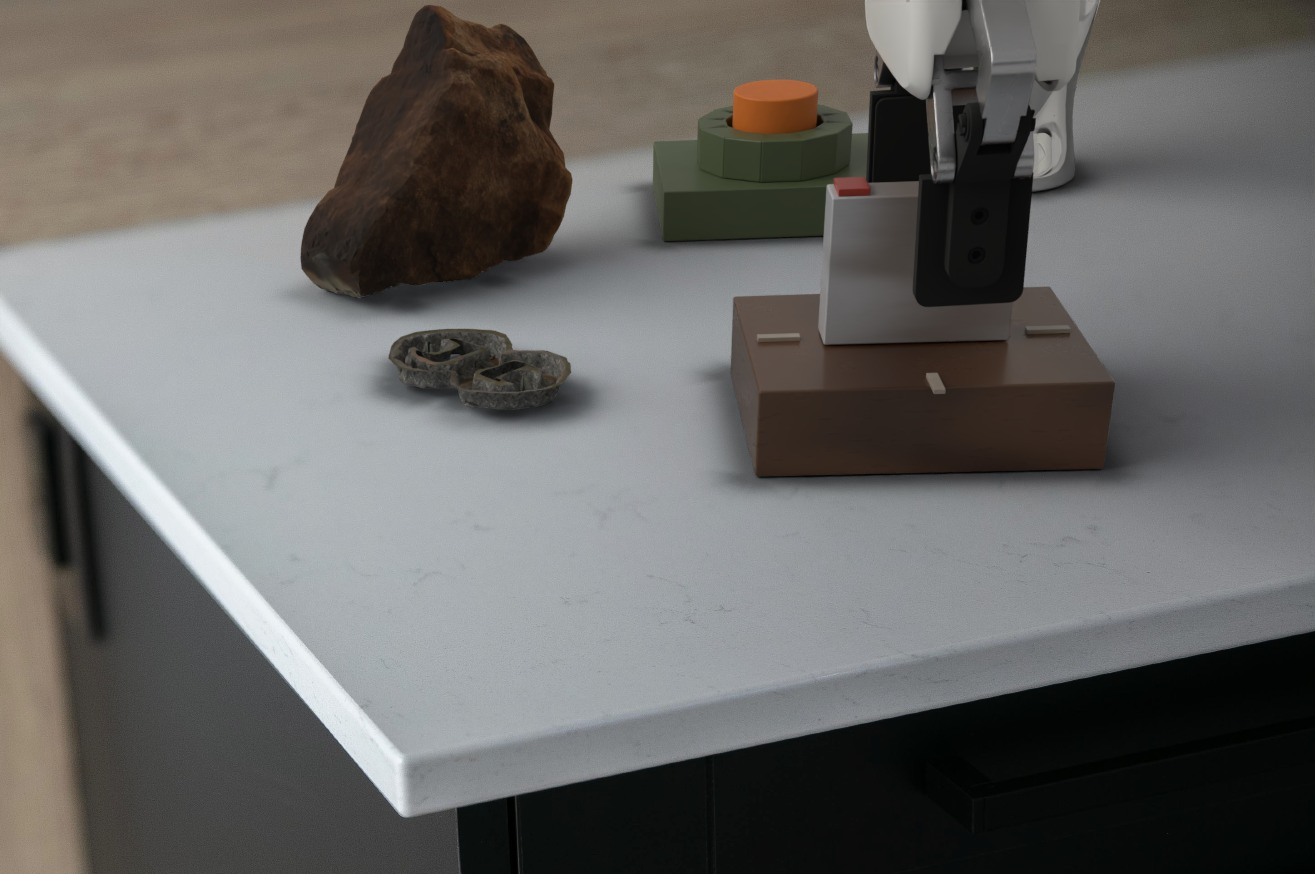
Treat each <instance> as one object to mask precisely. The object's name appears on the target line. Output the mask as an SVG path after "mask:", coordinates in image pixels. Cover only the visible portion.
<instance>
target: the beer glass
mask: <svg viewBox="0 0 1315 874" xmlns="http://www.w3.org/2000/svg"><path fill="white" fill-rule="evenodd" d="M1100 4H1101V0H1080V10H1079V28H1078V45H1077V60H1076V69H1075V73H1074V75H1073V77H1072V78H1071V80H1070V81H1069V82H1068V83H1067V84H1066V85H1065V86H1064V87H1063V88H1062V89H1060V90H1059V91H1050V92H1048V91H1046V90H1044V89H1043V88H1042V87H1041V86H1040V85H1039V84H1038V83H1037V82H1036V81H1035V80H1034V83H1033V87H1032V91H1031V96H1030V104H1031V110H1033V109H1034V110H1035V113H1034V116H1033V118H1036V125H1035V129H1034V131H1033V140H1034V168H1033V173H1034V174H1033V185H1032V193H1034V192H1042V191H1047V190H1052V189H1055V188H1059V187H1061V186H1063V185H1066V184H1067V183H1069V182H1070V181H1071V180H1073V178H1074V176H1075V173H1076V157H1075V142H1074V106H1075V105H1074V103H1075V96H1076V89H1077V88H1078V79H1079V76H1080V75H1079V74H1080V71H1081V67H1082V65H1083V60H1084V57H1085V53H1086V50H1087V46H1088V43H1089V40H1090V36H1091V33H1092V30H1093V27H1094V24H1095V20H1096V17H1097V14H1098V10H1099V6H1100ZM974 69H979V68H978V67H969V68H963V69H962V70H974Z"/></svg>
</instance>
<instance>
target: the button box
mask: <svg viewBox="0 0 1315 874" xmlns="http://www.w3.org/2000/svg"><path fill="white" fill-rule="evenodd" d="M732 126H733V105H730V106H725V107H720V108H717V109H716V108H715V109H713V110H712V111H710V112H708V113H706V114H705V115H703V116H701V117H699V118H698V119H697V134H696V135H697V138H696V139H687V140H686V139H685V140H684V139H683V140H659V141H658V140H656V141H653V144H652V145H653V147H652V149H653V150H652V153H653V154H652V190H653V195H654V196H653V197H654V201H655V206H656V210H657V216H658V222H659V227H660V231H661V237H662V238H661V239H662V241H663V242H682V241H683V242H685V241H712V240H715V241H716V240H740V239H741V240H742V239H768V238H796V237H797V238H798V237H824V222H825V206H826V189H827V185H828V184H834V178H847V177H865V178H866V170H867V147H868V132H859V133H857V132H856V133H853V126H854V123H853V121H852V119H851V118H850V115H849V114H848V113H847V112H846V111H844V110H840V109H837V108H833V107H831V106H827V105H824V104H818V106H817V123H816V128H814V129H810V130H805V131H800V132H795V133H779V134H761V133H751V132H743V131H740V130H737V129H734V128H732Z"/></svg>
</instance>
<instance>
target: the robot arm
mask: <svg viewBox="0 0 1315 874" xmlns="http://www.w3.org/2000/svg"><path fill="white" fill-rule="evenodd" d="M1079 10H1080V0H864V14H865V23H866V24H865V25H866V29H867V32H868V36H869V38H870V40H871V42H872V44H873V46H874V47H875V53H874V58H873V59H874V60H873V82H874V86H875V87H874V88H876V89H881V90H870V91H869V104H868V127H867V128H868V129H867V133H868V147H867V170H866V180H867V182H868V183H882V182H911V181H919V188H918V206H917V223H916V240H915V257H914V274H913V295H914V297H915V299H916V301H917V303H918V304H919V305H921V306H923V307H940V306H959V305H977V304H996V303H1010V302H1014V301H1016V300H1017V299H1019V298H1020V296H1021V295H1022V293H1023V288H1024V287H1025V275H1026V264H1027V251H1028V241H1029V230H1030V229H1029V228H1030V220H1031V219H1030V218H1031V208H1032V196H1033V192H1032V185H1033V174H1034V173H1033V168H1034V140H1033V131H1034V129H1035V125H1036V118H1033V116H1034V113H1035V110H1034V109H1033V110H1031V104H1030V96H1031V91H1032V87H1033V83H1034V80H1035V81H1036V82H1037V83H1038V84H1039V85H1040V86H1041V87H1042V88H1043V89H1044V90H1046V91H1048V92H1050V91H1059V90H1060V89H1062V88H1063V87H1064V86H1065V85H1066V84H1067V83H1068V82H1069V81H1070V80H1071V78H1072V77H1073V75H1074V73H1075V69H1076V60H1077V45H1078V28H1079ZM969 67H978V68H979V69H974V70H962V69H963V68H969ZM885 88H890V89H885Z"/></svg>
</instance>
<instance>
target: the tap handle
mask: <svg viewBox="0 0 1315 874" xmlns="http://www.w3.org/2000/svg"><path fill="white" fill-rule="evenodd" d="M918 188H919V181H911V182H882V183H868V182H867V180H866V178H865V177H847V178H834V184H828V185H827V189H826V206H825V222H824V236H823V241H822V242H823V243H822V258H821V272H820V273H821V275H820V291H819V294H820V306H819V322H818V328H819V331H820V334H821V337H822V340H823V343H824V345H838V344H876V343H915V342H954V341H993V340H1008V339H1009V334H1010V325H1011V316H1012V307H1013V302H1010V303H996V304H977V305H959V306H940V307H923V306H921V305H919V304H918V303H917V301H916V299H915V297H914V295H913V274H914V257H915V240H916V223H917V206H918Z"/></svg>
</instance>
